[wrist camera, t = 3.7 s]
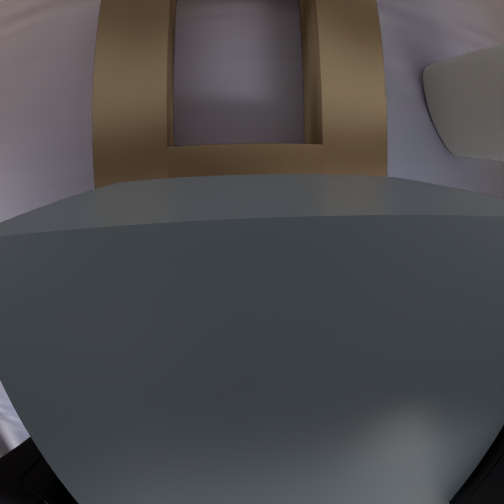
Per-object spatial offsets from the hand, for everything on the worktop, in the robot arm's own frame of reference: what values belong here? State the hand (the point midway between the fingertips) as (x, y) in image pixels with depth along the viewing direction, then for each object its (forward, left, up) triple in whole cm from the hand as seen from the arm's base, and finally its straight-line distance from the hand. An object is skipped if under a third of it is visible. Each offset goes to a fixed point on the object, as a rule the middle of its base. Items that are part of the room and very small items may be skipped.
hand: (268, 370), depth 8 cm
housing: (0, 0, -1) cm, 1 cm away
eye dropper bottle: (+9, -12, -8) cm, 17 cm away
